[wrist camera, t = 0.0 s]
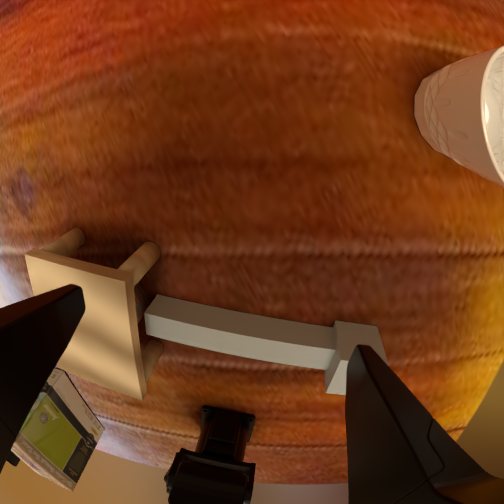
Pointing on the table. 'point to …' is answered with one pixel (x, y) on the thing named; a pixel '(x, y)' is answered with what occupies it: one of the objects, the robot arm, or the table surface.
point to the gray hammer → (262, 337)
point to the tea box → (58, 433)
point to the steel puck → (140, 301)
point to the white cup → (466, 112)
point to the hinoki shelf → (100, 314)
